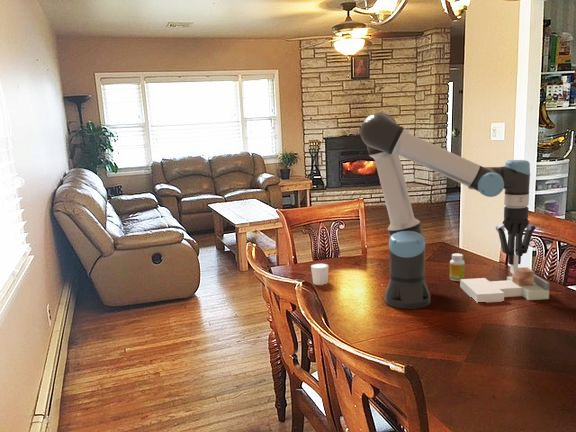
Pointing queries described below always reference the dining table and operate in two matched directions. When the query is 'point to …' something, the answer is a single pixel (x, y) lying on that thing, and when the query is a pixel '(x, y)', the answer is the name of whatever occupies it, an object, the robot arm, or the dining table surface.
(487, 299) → the board
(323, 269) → the white cup
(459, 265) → the supplement bottle
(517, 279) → the block
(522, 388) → the dining table surface
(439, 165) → the robot arm
